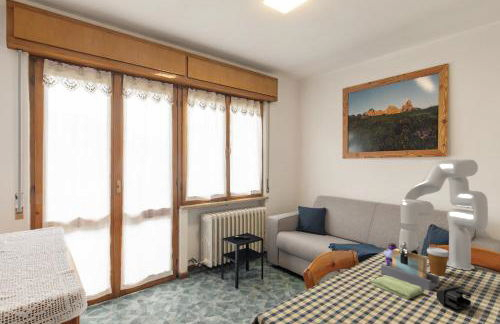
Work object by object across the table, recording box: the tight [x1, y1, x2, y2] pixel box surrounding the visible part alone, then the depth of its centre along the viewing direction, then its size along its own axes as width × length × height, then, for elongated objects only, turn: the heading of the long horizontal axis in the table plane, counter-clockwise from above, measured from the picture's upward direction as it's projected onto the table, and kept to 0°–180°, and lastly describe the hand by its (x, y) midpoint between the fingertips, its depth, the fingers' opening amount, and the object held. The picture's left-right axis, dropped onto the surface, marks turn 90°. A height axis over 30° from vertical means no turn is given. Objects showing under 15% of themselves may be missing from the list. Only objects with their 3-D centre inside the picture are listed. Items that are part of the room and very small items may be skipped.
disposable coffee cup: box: [426, 246, 449, 276], centre depth 136 cm, size 10×10×12 cm
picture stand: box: [380, 262, 440, 292], centre depth 128 cm, size 10×22×4 cm, turn 33°
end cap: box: [435, 285, 472, 313], centre depth 104 cm, size 10×7×7 cm
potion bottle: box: [383, 242, 398, 267], centre depth 146 cm, size 9×9×12 cm
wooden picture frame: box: [392, 248, 428, 279], centre depth 128 cm, size 4×14×11 cm, turn 33°
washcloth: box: [370, 275, 424, 300], centre depth 118 cm, size 13×18×3 cm
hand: (409, 261), depth 128 cm, fingers open, 9 cm apart
